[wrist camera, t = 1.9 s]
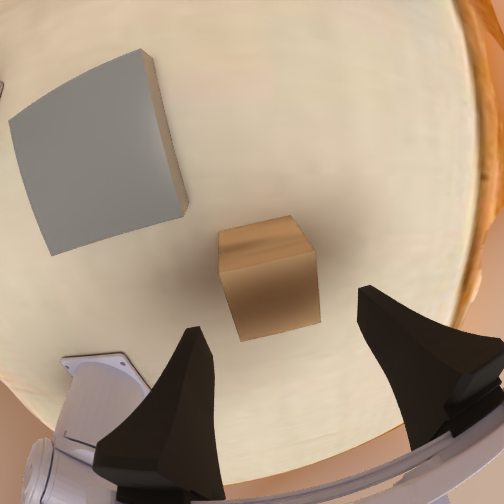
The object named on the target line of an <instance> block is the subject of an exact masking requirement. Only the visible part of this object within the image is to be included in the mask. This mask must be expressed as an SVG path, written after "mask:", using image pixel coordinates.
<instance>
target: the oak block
mask: <svg viewBox="0 0 504 504" xmlns="http://www.w3.org/2000/svg"><path fill="white" fill-rule="evenodd" d="M219 276H220V280H221V283H222V286H223V289H224V292H225V295H226V299H227V302H228V305H229V308H230V311H231V314H232V317H233V320H234V323H235V326H236V329H237V332H238V335H239V338H240V341H241V342H242V341H247V340H251V339H256V338H260V337H265V336H269V335H273V334H278V333H282V332H286V331H290V330H294V329H298V328H302V327H306V326H309V325H313V324H317V323H320V322H321V316H320V301H319V288H318V277H317V266H316V256H315V250H314V249H313V247H312V246H311V244H310V243H309V241H308V240H307V238H306V237H305V236H304V234H303V233H302V231H301V230H300V228H299V227H298V226H297V224H296V223H295V221H294V220H293V218H292V217H291V216H285V217H280V218H276V219H271V220H267V221H263V222H258V223H254V224H249V225H245V226H241V227H236V228H232V229H228V230H224V231H220V232H219Z"/></svg>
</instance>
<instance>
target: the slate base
mask: <svg viewBox="0 0 504 504" xmlns="http://www.w3.org/2000/svg"><path fill="white" fill-rule="evenodd" d="M9 126H10V131H11V136H12V141H13V145H14V150H15V154H16V158H17V162H18V166H19V169H20V173H21V176H22V180H23V183H24V186H25V189H26V192H27V195H28V198H29V201H30V204H31V207H32V210H33V213H34V215H35V218H36V220H37V223H38V226H39V228H40V230H41V233H42V235H43V238H44V240H45V242H46V245H47V247H48V249H49V251H50V254H51V256H54V255H57V254H60V253H63V252H66V251H69V250H72V249H75V248H78V247H81V246H84V245H87V244H90V243H94V242H97V241H100V240H103V239H106V238H110V237H113V236H116V235H120V234H123V233H126V232H130V231H133V230H137V229H140V228H144V227H147V226H151V225H154V224H158V223H162V222H165V221H169V220H173V219H177V218H180V217H184V214H185V211H186V209H187V206H188V203H189V202H188V198H187V195H186V191H185V188H184V184H183V181H182V177H181V173H180V170H179V166H178V162H177V159H176V155H175V151H174V147H173V143H172V140H171V136H170V132H169V128H168V124H167V120H166V115H165V111H164V107H163V103H162V99H161V94H160V90H159V85H158V81H157V76H156V72H155V67H154V62H153V58H151V57H150V56H149V55H148V54H147V53H146V52H145V51H143V50H142V49H138V50H135V51H133V52H130V53H128V54H125V55H123V56H120V57H118V58H115V59H113V60H111V61H108V62H106V63H104V64H102V65H100V66H98V67H95V68H93V69H91V70H89V71H87V72H85V73H83V74H81V75H79V76H77V77H76V78H74V79H72V80H70V81H68V82H66V83H65V84H63V85H61V86H59V87H58V88H56V89H54V90H53V91H51V92H49V93H48V94H46V95H45V96H43V97H42V98H40V99H38V100H37V101H35V102H34V103H32V104H31V105H30V106H28V107H27V108H25V109H24V110H22V111H21V112H20V113H18V114H17V115H16V116H14V117H13V118H12V119H10V120H9Z"/></svg>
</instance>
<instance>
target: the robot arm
mask: <svg viewBox="0 0 504 504" xmlns="http://www.w3.org/2000/svg"><path fill="white" fill-rule="evenodd" d="M357 323H358V325H359V327H360V330H361V332H362V334H363V337H364V339H365V341H366V342H367V344H368V346H369V347H370V349H371V351H372V353H373V354H374V356H375V358H376V359H377V361H378V363H379V364H380V366H381V368H382V369H383V371H384V373H385V375H386V377H387V379H388V381H389V383H390V385H391V388H392V390H393V393H394V395H395V398H396V400H397V403H398V406H399V408H400V411H401V414H402V417H403V421H404V424H405V427H406V431H407V434H408V439H409V443H410V447H411V452H409V453H407V454H405V455H403V456H401V457H399V458H397V459H394V460H392V461H390V462H387V463H385V464H383V465H380V466H378V467H375V468H372V469H370V470H367V471H364V472H362V473H359V474H356V475H353V476H350V477H347V478H344V479H341V480H338V481H334V482H330V483H327V484H324V485H319V486H315V487H311V488H307V489H303V490H298V491H293V492H288V493H283V494H277V495H271V496H264V497H256V498H247V499H236V500H225V499H226V497H225V493H224V489H223V484H222V479H221V474H220V468H219V462H218V456H217V449H216V441H215V431H214V386H215V373H214V362H213V355H212V353H211V351H210V349H209V347H208V344H207V342H206V340H205V338H204V335H203V333H202V331H201V329H200V326H197V327H192V328H186V330H185V332H184V334H183V336H182V338H181V340H180V342H179V344H178V346H177V347H176V349H175V351H174V353H173V355H172V357H171V359H170V361H169V362H168V364H167V366H166V368H165V369H164V371H163V373H162V374H161V376H160V377H159V379H158V381H157V382H156V384H155V385H154V387H153V388H152V389H151V390H150V389H149V388H148V386H147V385H146V384H145V382H144V381H143V380H142V378H141V377H140V376H139V374H138V373H137V372H136V370H135V369H134V368H133V366H132V365H131V363H130V362H129V361H128V359H127V358H126V356H125V355H123V354H121V353H117V354H107V355H97V356H85V357H71V358H62V359H61V361H60V362H61V364H62V365H63V367H64V368H65V369H66V370H67V371H68V373H69V374H70V375H71V376H72V377H73V380H72V382H71V385H70V388H69V390H68V393H67V396H66V398H65V401H64V404H63V407H62V410H61V413H60V416H59V419H58V422H57V425H56V428H55V432H54V435H53V438H52V439H50V440H49V439H48V438H46V437H44V438H42V439H38V440H36V442H35V443H34V445H33V447H32V449H31V452H30V454H29V457H28V460H27V464H26V467H25V472H24V477H23V489H22V493H21V504H317V503H321V502H324V501H328V500H332V499H335V498H339V497H342V496H345V495H349V494H352V493H355V492H358V491H360V490H363V489H366V488H369V487H371V486H374V485H377V484H379V483H382V482H384V481H386V480H389V479H391V478H393V477H396V476H398V475H400V474H402V473H404V472H406V471H409V470H411V469H413V468H415V467H417V466H418V467H417V468H415V469H413V470H411V471H410V472H408V473H406V474H405V475H404V476H403V478H402V479H401V480H399V481H398V482H396V483H395V484H394V485H393V487H392V488H389V489H387V490H384V491H381V492H379V493H376V494H374V495H371V496H368V497H365V498H362V499H360V500H356V501H354V502H350V503H347V504H450V502H449V499H448V496H447V493H449V492H450V491H452V490H453V489H455V488H456V487H458V486H459V485H461V484H462V483H463V482H465V481H466V480H468V479H469V478H470V477H472V476H473V475H474V474H476V473H477V472H478V471H480V470H481V469H482V468H484V467H485V466H486V465H487V464H488V463H490V462H491V461H492V460H493V459H494V458H496V457H497V456H498V455H499V454H500V453H501V452H502V451H503V450H504V388H503V389H502V388H501V387H500V386H499V385H500V384H501V383H502V381H501V380H500V378H499V375H500V374H501V372H502V370H503V369H504V342H503V341H502V340H501V339H500V338H495V337H487V336H480V335H476V334H471V333H467V332H463V331H460V330H457V329H454V328H450V327H448V326H445V325H442V324H440V323H437V322H435V321H433V320H430V319H428V318H426V317H424V316H422V315H420V314H418V313H416V312H415V311H413V310H411V309H409V308H407V307H406V306H404V305H402V304H400V303H399V302H397V301H396V300H394V299H392V298H391V297H389V296H388V295H386V294H384V293H383V292H381V291H380V290H378V289H376V288H375V287H373V286H371V285H368V286H364V287H361V288H358V310H357ZM424 462H425V463H424ZM422 463H423V464H422ZM419 465H420V466H419Z"/></svg>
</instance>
